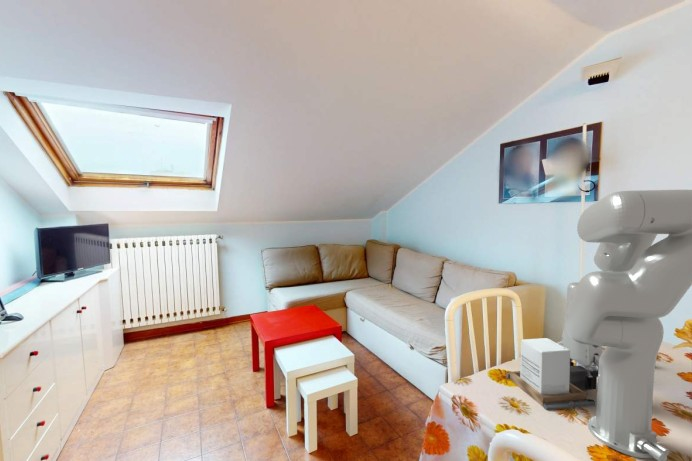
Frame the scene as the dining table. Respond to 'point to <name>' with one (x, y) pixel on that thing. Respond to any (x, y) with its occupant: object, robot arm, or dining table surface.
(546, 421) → the dining table surface
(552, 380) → the supplement box
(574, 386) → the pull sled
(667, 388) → the dining table surface
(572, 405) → the lane rails
